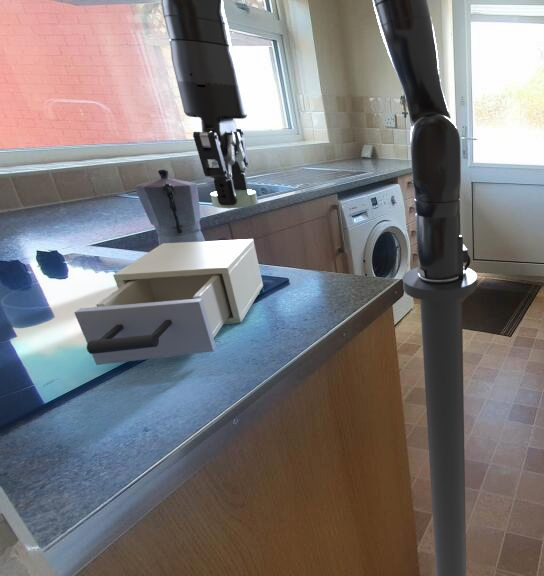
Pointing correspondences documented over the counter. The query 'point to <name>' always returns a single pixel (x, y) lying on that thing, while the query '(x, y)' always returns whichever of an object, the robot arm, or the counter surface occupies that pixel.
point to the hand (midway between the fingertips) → (235, 200)
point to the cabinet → (204, 268)
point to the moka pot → (172, 208)
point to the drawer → (156, 318)
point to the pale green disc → (238, 199)
